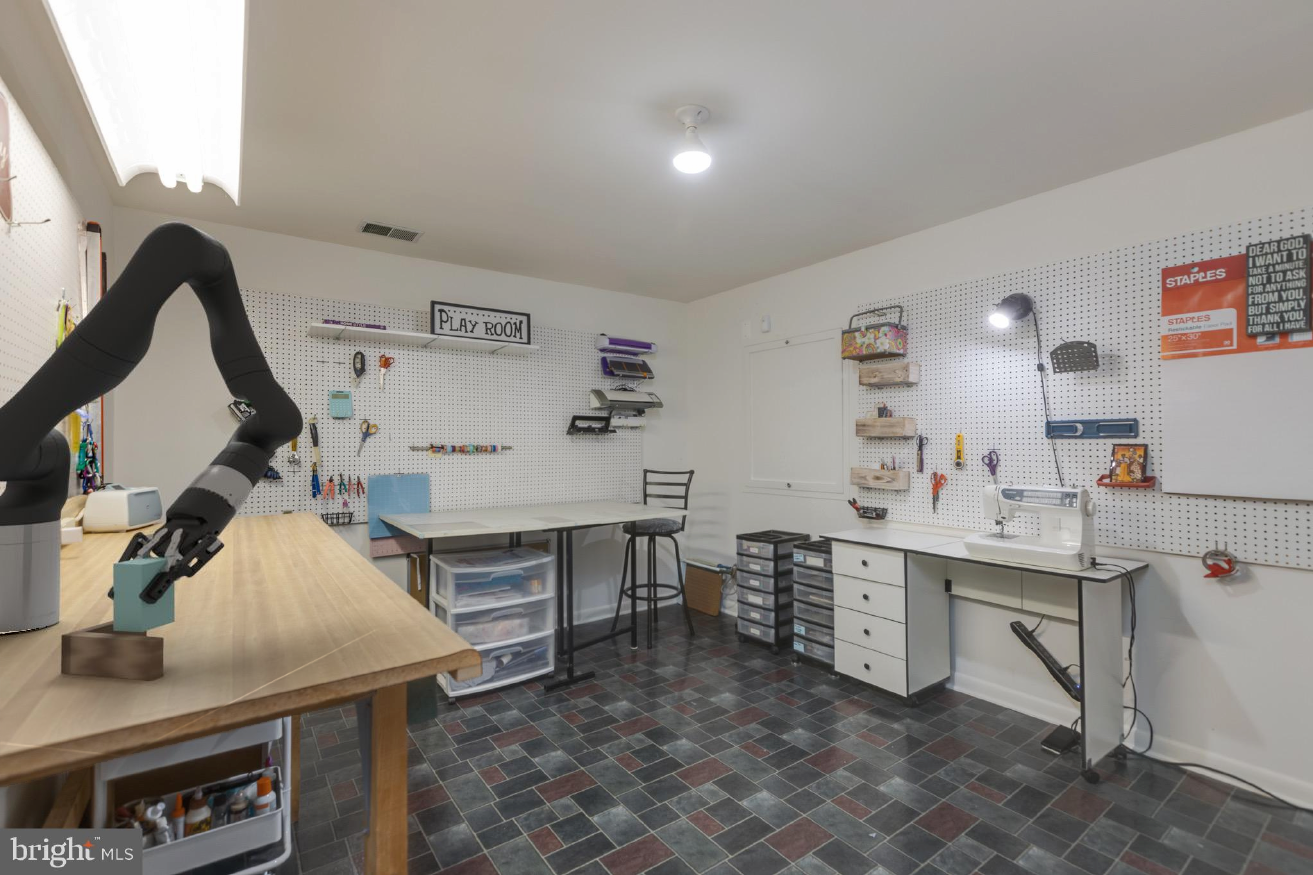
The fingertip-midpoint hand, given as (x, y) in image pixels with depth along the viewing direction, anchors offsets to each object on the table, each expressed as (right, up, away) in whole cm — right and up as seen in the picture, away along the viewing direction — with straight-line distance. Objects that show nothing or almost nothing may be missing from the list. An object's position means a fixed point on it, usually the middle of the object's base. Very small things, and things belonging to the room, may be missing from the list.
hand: (130, 599), depth 79 cm
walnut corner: (0, -9, +2) cm, 9 cm away
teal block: (0, -4, +2) cm, 5 cm away
